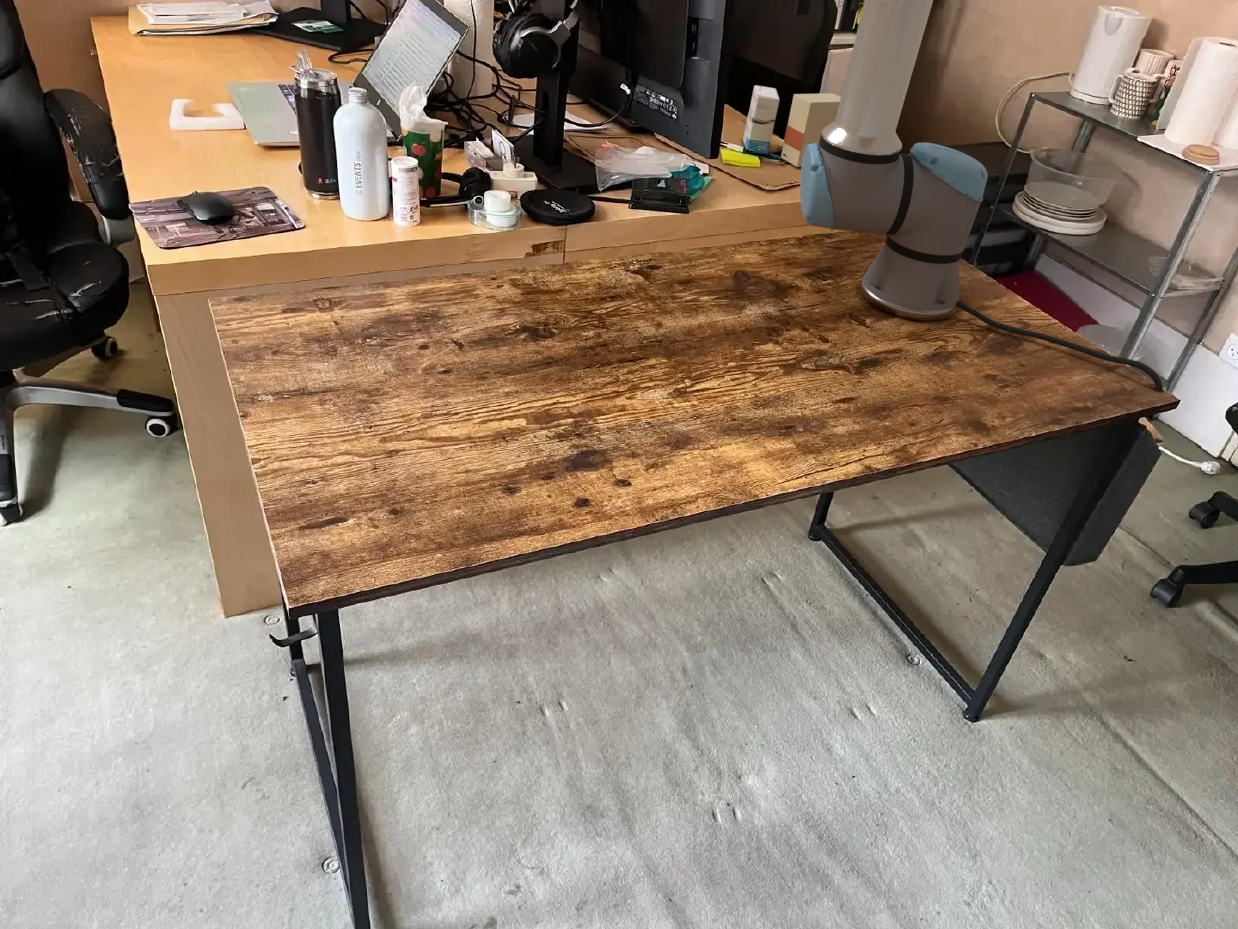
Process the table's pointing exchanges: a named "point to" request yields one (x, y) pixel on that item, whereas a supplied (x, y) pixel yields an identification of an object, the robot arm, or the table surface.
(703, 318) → the table surface
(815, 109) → the carton
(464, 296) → the table surface
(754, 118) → the ink box
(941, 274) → the robot arm
